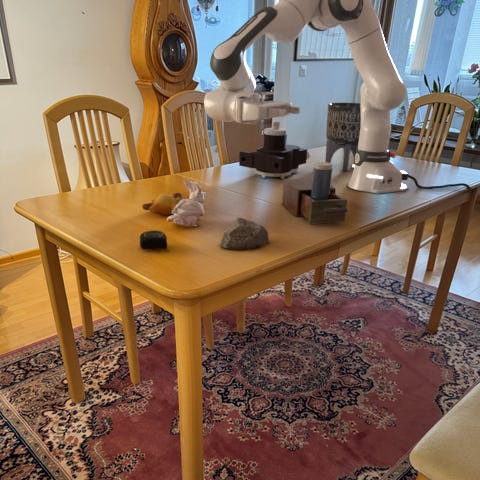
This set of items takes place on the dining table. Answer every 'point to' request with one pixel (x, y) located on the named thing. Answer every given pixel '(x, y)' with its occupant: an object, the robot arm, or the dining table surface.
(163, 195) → the toy
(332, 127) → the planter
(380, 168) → the robot arm
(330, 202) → the drawer
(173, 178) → the dining table surface
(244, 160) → the mechanical component
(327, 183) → the salt shaker
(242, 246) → the rock
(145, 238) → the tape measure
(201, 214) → the figurine
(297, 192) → the cabinet
